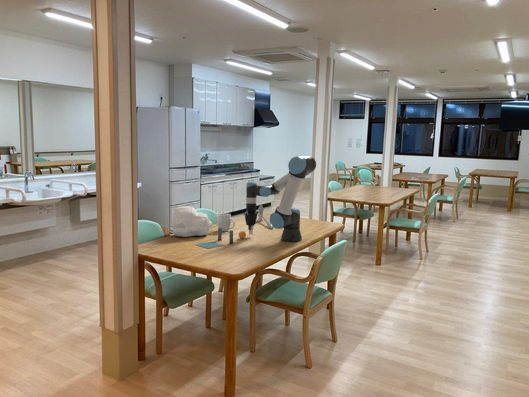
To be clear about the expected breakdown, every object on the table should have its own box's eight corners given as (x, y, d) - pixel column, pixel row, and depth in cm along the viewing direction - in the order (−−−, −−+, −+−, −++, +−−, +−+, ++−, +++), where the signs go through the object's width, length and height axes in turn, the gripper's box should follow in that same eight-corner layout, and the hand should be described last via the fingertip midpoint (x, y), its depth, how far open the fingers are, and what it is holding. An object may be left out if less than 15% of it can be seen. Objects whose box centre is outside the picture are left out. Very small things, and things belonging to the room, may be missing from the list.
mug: (237, 230, 349) (237, 214, 348) (231, 233, 339) (231, 216, 338) (221, 228, 355) (221, 212, 353) (214, 231, 345) (214, 215, 343)
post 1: (220, 239, 317) (220, 227, 316) (222, 240, 315) (222, 228, 314) (217, 240, 315) (217, 228, 314) (219, 241, 313) (219, 228, 312)
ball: (242, 237, 326) (242, 230, 325) (247, 238, 322) (247, 231, 321) (236, 238, 322) (237, 231, 321) (241, 239, 318) (242, 232, 317)
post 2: (231, 242, 308) (231, 230, 307) (233, 243, 306) (233, 230, 305) (228, 243, 306) (228, 230, 305) (231, 244, 304) (231, 231, 303)
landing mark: (211, 241, 310) (211, 241, 310) (224, 245, 301) (224, 245, 301) (195, 244, 301) (195, 244, 301) (207, 248, 291) (207, 248, 291)
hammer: (275, 236, 359) (262, 219, 395) (276, 217, 354) (263, 202, 391) (269, 236, 357) (257, 220, 394) (271, 217, 353) (257, 202, 389)
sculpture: (172, 239, 316) (213, 238, 322) (172, 209, 313) (214, 209, 319) (171, 231, 341) (210, 231, 347) (171, 204, 338) (210, 204, 344)
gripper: (254, 201, 332) (253, 232, 335) (241, 203, 323) (240, 234, 326) (261, 202, 326) (260, 233, 330) (248, 204, 317) (247, 236, 321)
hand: (250, 234), depth 328 cm, fingers closed
